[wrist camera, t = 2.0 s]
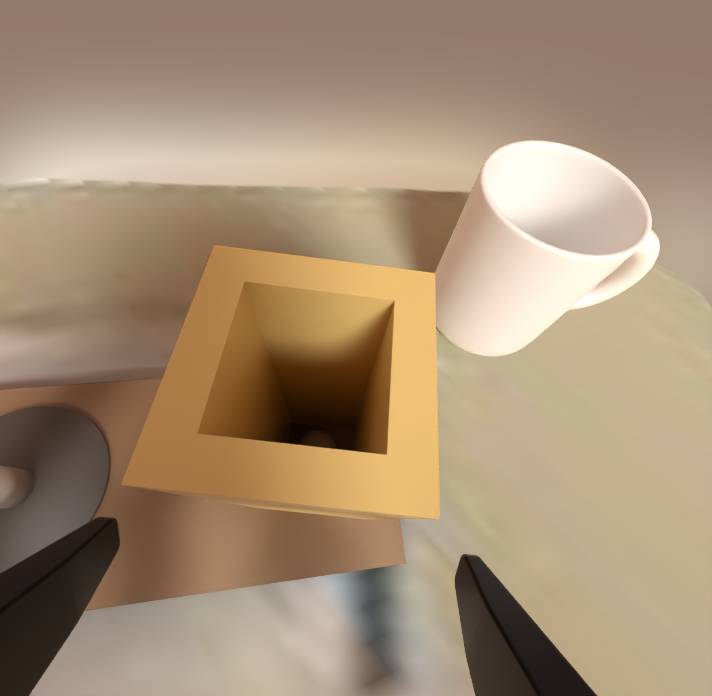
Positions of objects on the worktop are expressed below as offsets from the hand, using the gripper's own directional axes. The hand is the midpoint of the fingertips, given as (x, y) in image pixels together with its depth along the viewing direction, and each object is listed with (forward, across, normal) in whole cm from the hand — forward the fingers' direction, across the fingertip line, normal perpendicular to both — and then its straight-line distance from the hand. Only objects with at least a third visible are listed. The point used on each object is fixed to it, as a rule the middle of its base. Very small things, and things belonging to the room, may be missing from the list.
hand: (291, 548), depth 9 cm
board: (+9, +7, +6) cm, 13 cm away
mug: (+18, -12, -4) cm, 22 cm away
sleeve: (+9, 0, +4) cm, 10 cm away
